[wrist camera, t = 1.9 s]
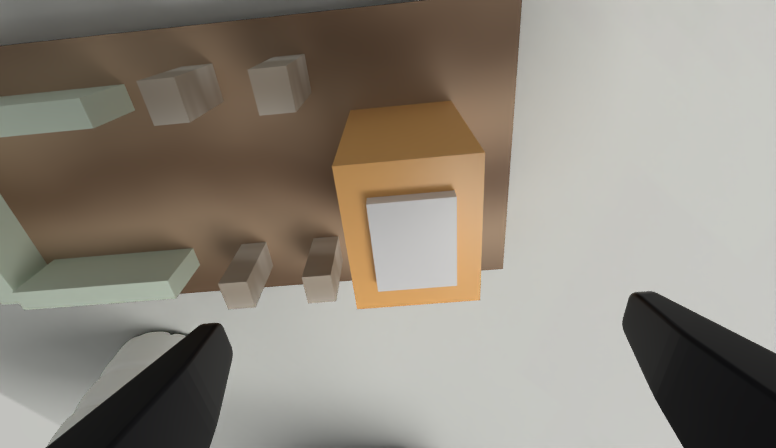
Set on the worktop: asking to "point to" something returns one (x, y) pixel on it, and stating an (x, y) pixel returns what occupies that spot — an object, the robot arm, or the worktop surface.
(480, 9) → the board
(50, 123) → the bracket
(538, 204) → the worktop surface
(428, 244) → the orange upright block
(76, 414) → the water bottle
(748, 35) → the worktop surface
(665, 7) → the worktop surface
